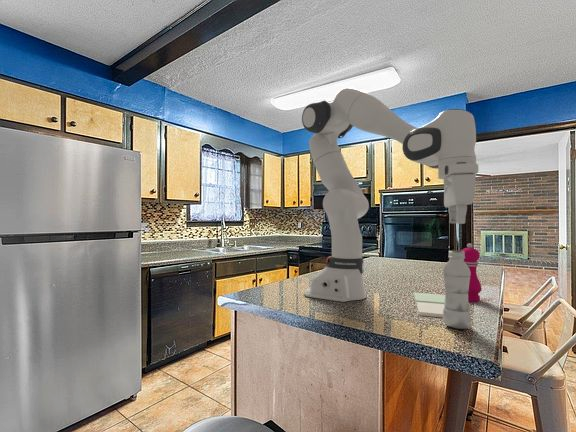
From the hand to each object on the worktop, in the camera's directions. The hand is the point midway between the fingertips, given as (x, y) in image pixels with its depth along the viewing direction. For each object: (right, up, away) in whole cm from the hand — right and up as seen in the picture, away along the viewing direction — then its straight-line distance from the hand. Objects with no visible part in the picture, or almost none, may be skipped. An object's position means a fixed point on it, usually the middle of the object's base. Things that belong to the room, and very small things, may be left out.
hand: (457, 223), depth 82 cm
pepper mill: (+20, -28, +29) cm, 45 cm away
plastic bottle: (0, -28, 0) cm, 28 cm away
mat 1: (+7, -28, +27) cm, 39 cm away
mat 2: (+2, -27, +14) cm, 31 cm away
